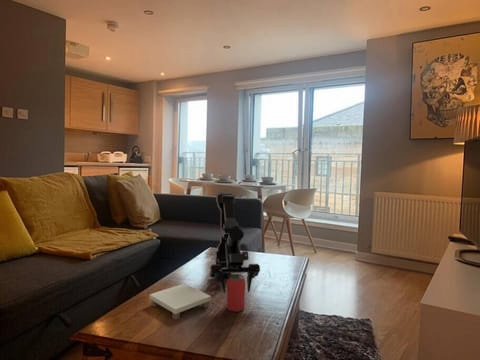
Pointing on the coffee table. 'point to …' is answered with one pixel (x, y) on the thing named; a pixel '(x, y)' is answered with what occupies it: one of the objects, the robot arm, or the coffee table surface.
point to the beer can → (235, 292)
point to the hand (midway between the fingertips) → (236, 292)
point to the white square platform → (179, 299)
